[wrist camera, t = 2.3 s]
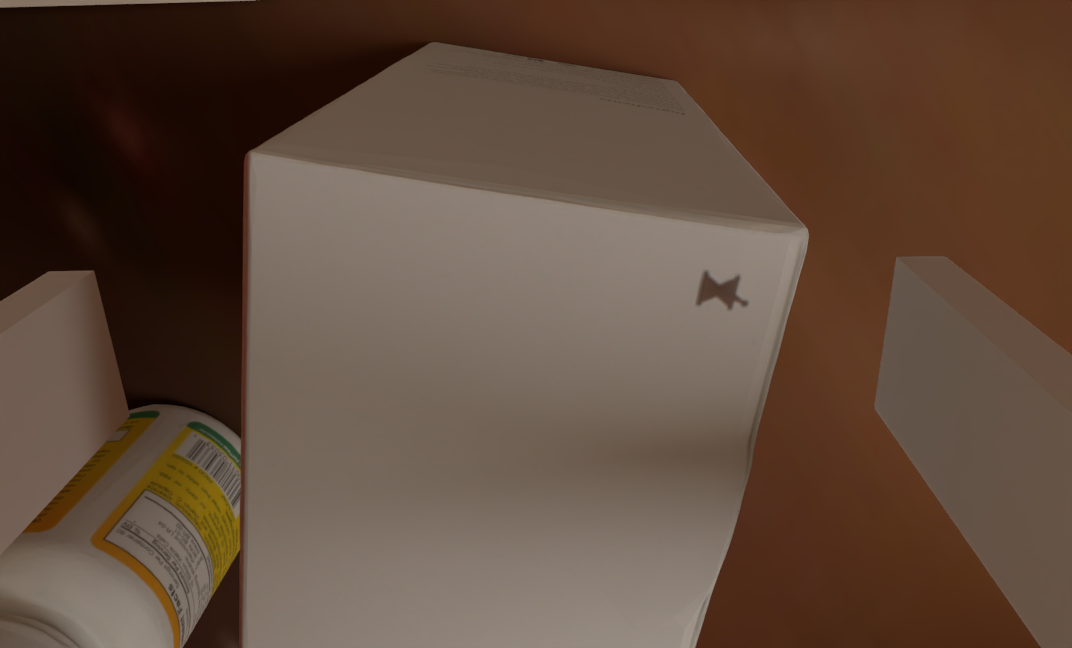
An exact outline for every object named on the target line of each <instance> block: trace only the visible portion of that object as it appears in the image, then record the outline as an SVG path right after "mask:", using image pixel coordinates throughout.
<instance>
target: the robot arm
mask: <svg viewBox="0 0 1072 648" xmlns="http://www.w3.org/2000/svg"><path fill="white" fill-rule="evenodd" d="M874 408H875V410H876V411H877V413H878V414H879V416H880V417H881V418H882V420H883V421H884V423H885V424H886V426H887V427H888V428H889V430H890V431H891V433H892V434H893V436H894V437H895V439H896V440H897V441H898V443H899V444H900V446H901V447H902V449H903V450H904V452H905V453H906V454H907V456H908V457H909V459H910V460H911V462H912V463H913V464H914V466H915V467H916V469H917V470H918V472H919V473H920V475H921V476H922V477H923V479H924V480H925V482H926V483H927V485H928V486H929V488H930V489H931V490H932V492H933V493H934V495H935V496H936V498H937V499H938V500H939V502H940V503H941V505H942V506H943V508H944V509H945V511H946V512H947V513H948V515H949V516H950V518H951V519H952V521H953V522H954V523H955V525H956V526H957V528H958V529H959V531H960V532H961V534H962V535H963V536H964V538H965V539H966V541H967V542H968V544H969V545H970V547H971V548H972V549H973V551H974V552H975V554H976V555H977V557H978V558H979V559H980V561H981V562H982V564H983V565H984V567H985V568H986V570H987V571H988V572H989V574H990V575H991V577H992V578H993V580H994V581H995V583H996V584H997V585H998V587H999V588H1000V590H1001V591H1002V593H1003V594H1004V595H1005V597H1006V598H1007V600H1008V601H1009V603H1010V604H1011V606H1012V607H1013V608H1014V610H1015V611H1016V613H1017V614H1018V616H1019V617H1020V619H1021V620H1022V621H1023V623H1024V624H1025V626H1026V627H1027V629H1028V630H1029V631H1030V633H1031V634H1032V636H1033V637H1034V639H1035V640H1036V642H1037V643H1038V644H1039V646H1040V647H1041V648H1072V355H1071V354H1070V353H1068V352H1067V351H1066V350H1065V349H1063V348H1062V347H1061V346H1059V345H1058V344H1057V343H1056V342H1054V341H1053V340H1052V339H1050V338H1049V337H1048V336H1047V335H1045V334H1044V333H1043V332H1041V331H1040V330H1039V329H1038V328H1036V327H1035V326H1034V325H1033V324H1031V323H1030V322H1029V321H1027V320H1026V319H1025V318H1024V317H1022V316H1021V315H1020V314H1018V313H1017V312H1016V311H1015V310H1013V309H1012V308H1011V307H1009V306H1008V305H1007V304H1006V303H1004V302H1003V301H1002V300H1001V299H999V298H998V297H997V296H995V295H994V294H993V293H992V292H990V291H989V290H988V289H986V288H985V287H984V286H983V285H981V284H980V283H979V282H977V281H976V280H975V279H974V278H972V277H971V276H970V275H969V274H967V273H966V272H965V271H963V270H962V269H961V268H960V267H958V266H957V265H956V264H954V263H953V262H952V261H951V260H949V259H948V258H947V257H945V256H922V257H896V264H895V271H894V277H893V284H892V291H891V298H890V304H889V311H888V318H887V324H886V331H885V338H884V345H883V351H882V358H881V365H880V371H879V378H878V385H877V392H876V398H875V405H874ZM129 417H130V414H129V410H128V406H127V402H126V398H125V394H124V390H123V386H122V382H121V378H120V373H119V369H118V365H117V361H116V357H115V353H114V349H113V345H112V341H111V337H110V333H109V329H108V325H107V321H106V317H105V313H104V309H103V305H102V301H101V297H100V293H99V288H98V284H97V280H96V276H95V272H94V271H49V272H47V273H45V274H44V275H42V276H41V277H39V278H37V279H36V280H34V281H33V282H31V283H29V284H28V285H26V286H24V287H23V288H21V289H20V290H18V291H16V292H15V293H13V294H12V295H10V296H8V297H7V298H5V299H3V300H2V301H0V555H1V554H2V553H3V552H4V551H5V550H6V549H7V548H8V547H9V545H10V544H11V543H12V542H13V541H14V540H15V539H16V538H17V537H18V536H19V535H20V534H21V533H22V532H23V530H24V529H25V528H26V527H27V526H28V525H29V524H30V523H31V522H32V521H33V520H34V519H35V518H36V516H37V515H38V514H39V513H40V512H41V511H42V510H43V509H44V508H45V507H46V506H47V505H48V504H49V503H50V501H51V500H52V499H53V498H54V497H55V496H56V495H57V494H58V493H59V492H60V491H61V490H62V489H63V487H64V486H65V485H66V484H67V483H68V482H69V481H70V480H71V479H72V478H73V477H74V476H75V475H76V474H77V472H78V471H79V470H80V469H81V468H82V467H83V466H84V465H85V464H86V463H87V462H88V461H89V460H90V459H91V457H92V456H93V455H94V454H95V453H96V452H97V451H98V450H99V449H100V448H101V447H102V446H103V445H104V443H105V442H106V441H107V440H108V439H109V438H110V437H111V436H112V435H113V434H114V433H115V432H116V431H117V430H118V428H119V427H120V426H121V425H122V424H123V423H124V422H125V421H126V420H127V419H128V418H129Z"/></svg>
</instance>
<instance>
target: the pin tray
mask: <svg viewBox="0 0 1072 648" xmlns="http://www.w3.org/2000/svg"><path fill="white" fill-rule="evenodd" d="M218 1H254V0H0V7H36V6H72V5H109V4H145V3H182V2H218Z"/></svg>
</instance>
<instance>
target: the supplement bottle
mask: <svg viewBox="0 0 1072 648" xmlns="http://www.w3.org/2000/svg"><path fill="white" fill-rule="evenodd" d="M129 414H130V417H129V418H128V419H127V420H126V421H125V422H124V423H123V424H122V425H121V426H120V427H119V428H118V430H117V431H116V432H115V433H114V434H113V435H112V436H111V437H110V438H109V439H108V440H107V441H106V442H105V443H104V445H103V446H102V447H101V448H100V449H99V450H98V451H97V452H96V453H95V454H94V455H93V456H92V457H91V459H90V460H89V461H88V462H87V463H86V464H85V465H84V466H83V467H82V468H81V469H80V470H79V471H78V472H77V474H76V475H75V476H74V477H73V478H72V479H71V480H70V481H69V482H68V483H67V484H66V485H65V486H64V487H63V489H62V490H61V491H60V492H59V493H58V494H57V495H56V496H55V497H54V498H53V499H52V500H51V501H50V503H49V504H48V505H47V506H46V507H45V508H44V509H43V510H42V511H41V512H40V513H39V514H38V515H37V516H36V518H35V519H34V520H33V521H32V522H31V523H30V524H29V525H28V526H27V527H26V528H25V529H24V530H23V532H22V533H21V534H20V535H19V536H18V537H17V538H16V539H15V540H14V541H13V542H12V543H11V544H10V545H9V547H8V548H7V549H6V550H5V551H4V552H3V553H2V554H1V555H0V648H182V647H183V646H184V644H185V643H186V641H187V639H188V637H189V635H190V634H191V632H192V631H193V629H194V627H195V625H196V624H197V622H198V620H199V618H200V617H201V615H202V613H203V612H204V610H205V608H206V606H207V604H208V602H209V601H210V599H211V597H212V595H213V594H214V592H215V590H216V589H217V587H218V585H219V584H220V582H221V580H222V579H223V577H224V575H225V574H226V572H227V570H228V568H229V567H230V565H231V563H232V562H233V560H234V559H235V557H236V555H237V553H238V552H239V550H240V494H241V463H240V461H241V439H240V438H239V437H238V436H237V435H236V434H235V433H234V432H233V431H232V430H231V429H229V428H228V427H227V426H226V425H224V424H223V423H221V422H220V421H218V420H217V419H215V418H213V417H211V416H209V415H207V414H205V413H202V412H200V411H197V410H194V409H191V408H187V407H183V406H176V405H166V404H153V405H147V406H143V407H139V408H136V409H132V410H130V411H129Z"/></svg>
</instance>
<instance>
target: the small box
mask: <svg viewBox="0 0 1072 648" xmlns="http://www.w3.org/2000/svg"><path fill="white" fill-rule="evenodd" d="M808 238H809V234H808V229H807V228H806V227H805V226H804V225H803V223H802V222H801V221H800V220H799V219H798V218H797V217H796V216H795V215H794V214H793V213H792V212H791V211H790V210H789V209H788V207H787V206H786V205H785V204H784V203H783V201H782V200H781V199H780V198H779V197H778V195H777V194H776V193H775V192H774V191H773V190H772V189H771V188H770V187H769V185H768V184H767V183H766V182H765V181H764V180H763V179H762V178H761V176H760V175H759V174H758V173H757V172H756V171H755V170H754V169H753V167H752V166H751V165H750V164H749V163H748V162H747V161H746V160H745V158H744V157H743V156H742V155H741V154H740V153H739V152H738V151H737V149H736V148H735V147H734V146H733V145H732V144H731V143H730V141H729V140H728V139H727V138H726V137H725V136H724V134H723V133H722V132H721V131H720V130H719V129H718V127H717V126H715V124H714V123H713V122H712V121H711V119H710V118H709V117H708V116H707V115H706V114H705V113H704V111H703V110H702V109H701V108H700V107H699V106H698V105H697V104H696V103H695V101H694V100H693V99H692V98H691V97H690V96H689V95H688V94H687V92H686V91H685V90H684V89H683V88H682V87H681V86H680V85H679V83H678V82H676V81H673V80H667V79H660V78H654V77H648V76H642V75H635V74H629V73H623V72H617V71H610V70H604V69H598V68H591V67H585V66H579V65H573V64H566V63H560V62H554V61H548V60H542V59H535V58H529V57H523V56H517V55H511V54H505V53H499V52H494V51H488V50H482V49H475V48H469V47H463V46H456V45H450V44H444V43H438V42H432V43H429V44H428V45H426V46H424V47H423V48H421V49H419V50H418V51H416V52H414V53H413V54H411V55H409V56H407V57H405V58H403V59H401V60H400V61H398V62H396V63H395V64H393V65H391V66H389V67H388V68H386V69H385V70H383V71H382V72H380V73H379V74H377V75H376V76H374V77H372V78H370V79H368V80H367V81H365V82H364V83H362V84H360V85H358V86H357V87H355V88H354V89H352V90H350V91H349V92H347V93H346V94H344V95H342V96H341V97H339V98H337V99H336V100H334V101H332V102H331V103H329V104H327V105H325V106H324V107H322V108H320V109H319V110H317V111H315V112H314V113H312V114H310V115H309V116H307V117H306V118H304V119H303V120H301V121H299V122H297V123H296V124H294V125H292V126H290V127H288V128H287V129H286V130H284V131H283V132H281V133H279V134H278V135H276V136H274V137H272V138H271V139H269V140H267V141H266V142H264V143H262V144H261V145H259V146H258V147H256V148H254V149H252V150H250V151H249V152H248V153H247V154H246V155H245V160H244V197H243V305H242V385H241V461H240V463H241V494H240V600H239V648H695V646H696V643H697V640H698V636H699V633H700V630H701V627H702V624H703V620H704V617H705V614H706V611H707V607H708V604H709V600H710V596H711V594H712V591H713V588H714V585H715V582H716V580H717V577H718V574H719V571H720V569H721V566H722V563H723V561H724V558H725V556H726V553H727V550H728V548H729V545H730V542H731V538H732V535H733V532H734V528H735V525H736V521H737V518H738V514H739V511H740V506H741V502H742V497H743V494H744V491H745V487H746V484H747V481H748V477H749V473H750V469H751V464H752V458H753V450H754V445H755V441H756V436H757V431H758V427H759V423H760V419H761V415H762V412H763V408H764V404H765V401H766V397H767V394H768V390H769V385H770V381H771V378H772V374H773V371H774V367H775V364H776V361H777V357H778V354H779V350H780V346H781V342H782V338H783V334H784V330H785V326H786V322H787V318H788V314H789V311H790V308H791V304H792V301H793V298H794V294H795V290H796V287H797V283H798V279H799V276H800V272H801V268H802V265H803V262H804V258H805V255H806V251H807V245H808Z"/></svg>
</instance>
